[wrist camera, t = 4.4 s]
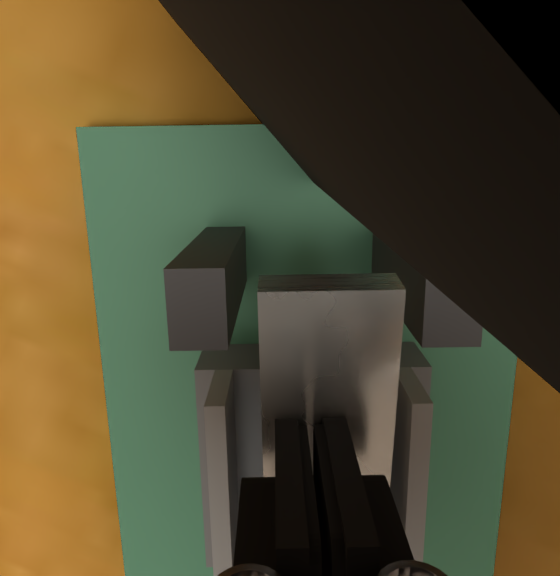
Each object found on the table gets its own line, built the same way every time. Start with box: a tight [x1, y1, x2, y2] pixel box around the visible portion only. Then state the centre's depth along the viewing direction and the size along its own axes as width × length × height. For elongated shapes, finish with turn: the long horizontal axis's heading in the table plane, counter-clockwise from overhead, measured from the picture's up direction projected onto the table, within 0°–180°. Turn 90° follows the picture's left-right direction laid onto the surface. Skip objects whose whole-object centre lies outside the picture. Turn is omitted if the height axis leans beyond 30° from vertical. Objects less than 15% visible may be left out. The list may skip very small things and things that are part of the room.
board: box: [76, 124, 517, 576], centre depth 17 cm, size 24×16×9 cm, turn 1°
